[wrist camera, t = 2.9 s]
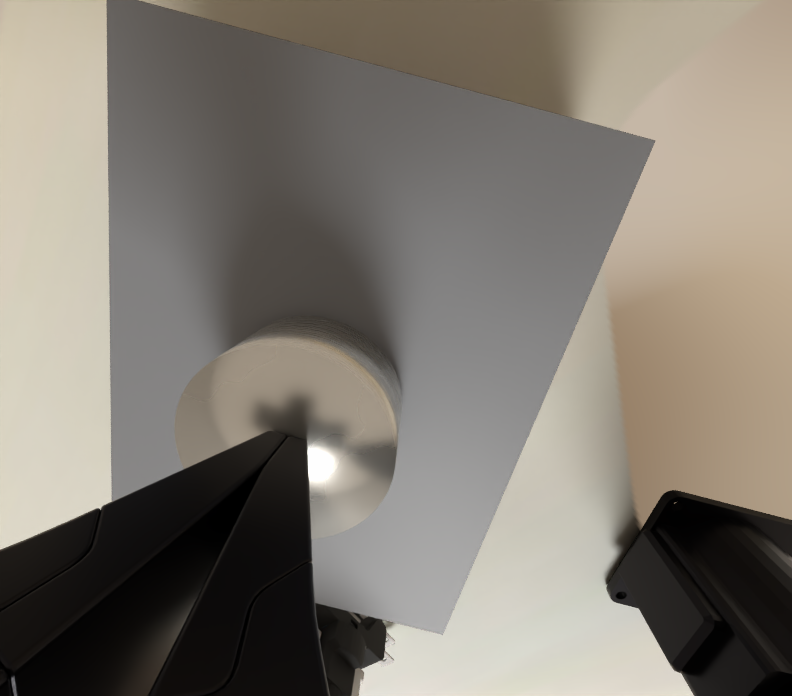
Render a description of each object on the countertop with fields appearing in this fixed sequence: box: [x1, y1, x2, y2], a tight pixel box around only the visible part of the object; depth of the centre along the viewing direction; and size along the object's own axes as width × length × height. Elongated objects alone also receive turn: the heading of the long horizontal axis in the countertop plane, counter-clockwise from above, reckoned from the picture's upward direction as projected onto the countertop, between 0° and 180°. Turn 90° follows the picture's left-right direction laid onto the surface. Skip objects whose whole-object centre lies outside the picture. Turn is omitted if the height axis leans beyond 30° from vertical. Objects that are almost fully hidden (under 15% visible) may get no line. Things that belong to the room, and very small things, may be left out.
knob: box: [174, 316, 402, 539], centre depth 11 cm, size 5×5×8 cm
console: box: [107, 0, 655, 635], centre depth 13 cm, size 12×16×5 cm
